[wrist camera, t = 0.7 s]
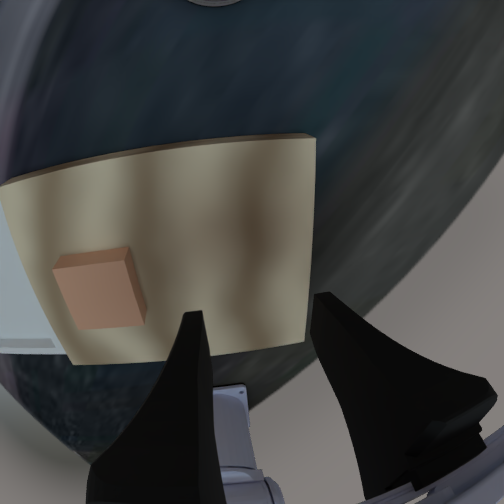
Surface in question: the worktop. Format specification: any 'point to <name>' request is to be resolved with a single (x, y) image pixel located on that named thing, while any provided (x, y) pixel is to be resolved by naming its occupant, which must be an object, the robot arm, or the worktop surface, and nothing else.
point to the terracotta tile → (101, 289)
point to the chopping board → (178, 240)
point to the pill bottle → (214, 2)
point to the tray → (21, 305)
